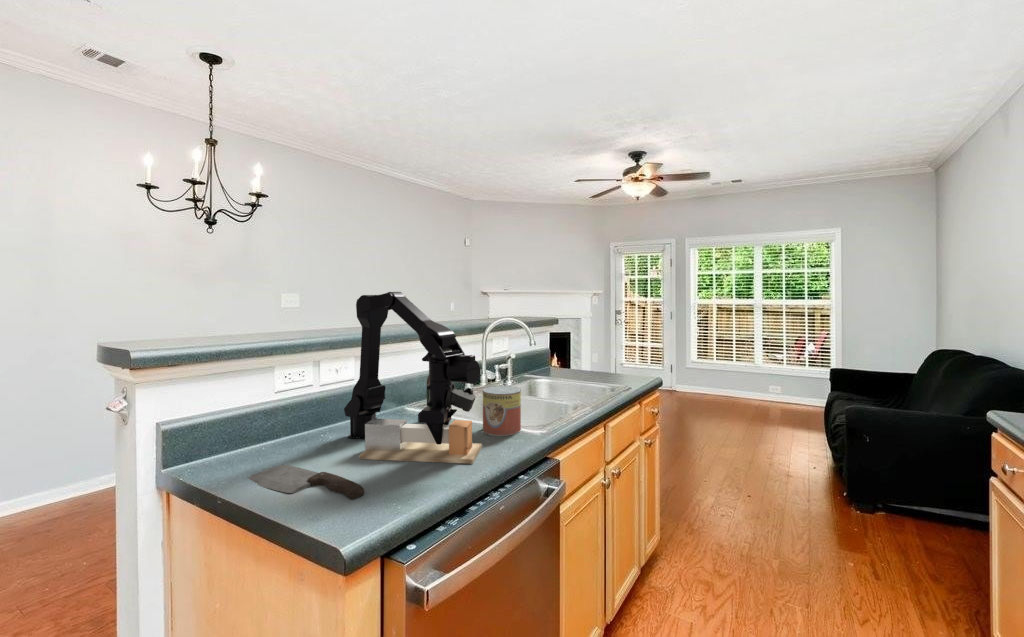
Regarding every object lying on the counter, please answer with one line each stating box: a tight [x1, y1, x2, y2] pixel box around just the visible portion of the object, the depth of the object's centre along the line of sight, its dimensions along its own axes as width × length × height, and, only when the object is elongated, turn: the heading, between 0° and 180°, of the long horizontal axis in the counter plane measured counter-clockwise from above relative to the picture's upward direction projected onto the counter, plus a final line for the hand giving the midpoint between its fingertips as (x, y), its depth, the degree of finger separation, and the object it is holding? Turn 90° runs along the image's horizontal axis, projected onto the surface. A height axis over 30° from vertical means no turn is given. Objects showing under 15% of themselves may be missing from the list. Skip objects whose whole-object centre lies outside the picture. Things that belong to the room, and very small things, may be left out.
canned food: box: [482, 385, 522, 437], centre depth 140 cm, size 11×11×12 cm
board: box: [359, 442, 483, 465], centre depth 121 cm, size 28×12×1 cm, turn 83°
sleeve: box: [364, 418, 408, 452], centre depth 122 cm, size 9×5×7 cm, turn 83°
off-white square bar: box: [400, 423, 451, 444], centre depth 121 cm, size 19×4×4 cm, turn 83°
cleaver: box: [247, 464, 365, 500], centre depth 101 cm, size 29×10×2 cm, turn 61°
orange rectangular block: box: [449, 419, 473, 455], centre depth 120 cm, size 4×6×7 cm
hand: (441, 441), depth 120 cm, fingers closed on off-white square bar, 4 cm apart
